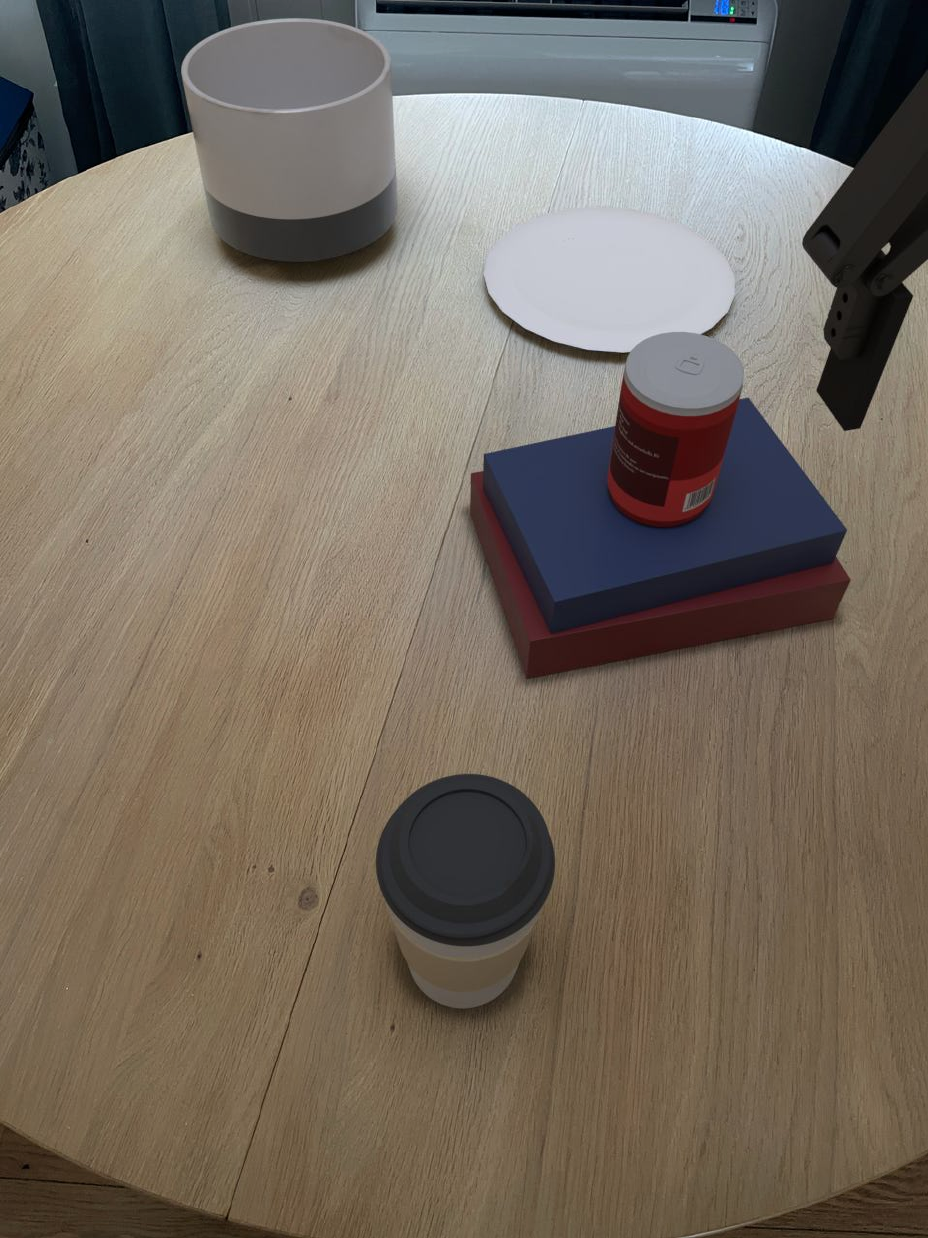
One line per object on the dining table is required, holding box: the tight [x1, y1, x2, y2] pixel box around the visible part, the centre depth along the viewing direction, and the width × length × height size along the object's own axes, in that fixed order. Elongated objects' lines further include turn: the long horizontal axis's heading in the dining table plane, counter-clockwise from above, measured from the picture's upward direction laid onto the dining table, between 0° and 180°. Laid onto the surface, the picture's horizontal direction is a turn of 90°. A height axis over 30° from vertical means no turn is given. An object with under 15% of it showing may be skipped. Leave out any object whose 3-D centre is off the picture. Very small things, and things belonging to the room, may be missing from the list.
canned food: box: [607, 332, 745, 527], centre depth 71 cm, size 8×8×11 cm
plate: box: [483, 205, 736, 355], centre depth 104 cm, size 25×25×2 cm
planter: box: [180, 17, 398, 263], centre depth 103 cm, size 19×19×18 cm
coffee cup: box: [375, 773, 556, 1010], centre depth 56 cm, size 9×9×15 cm
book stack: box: [469, 397, 852, 680], centre depth 78 cm, size 17×24×8 cm
